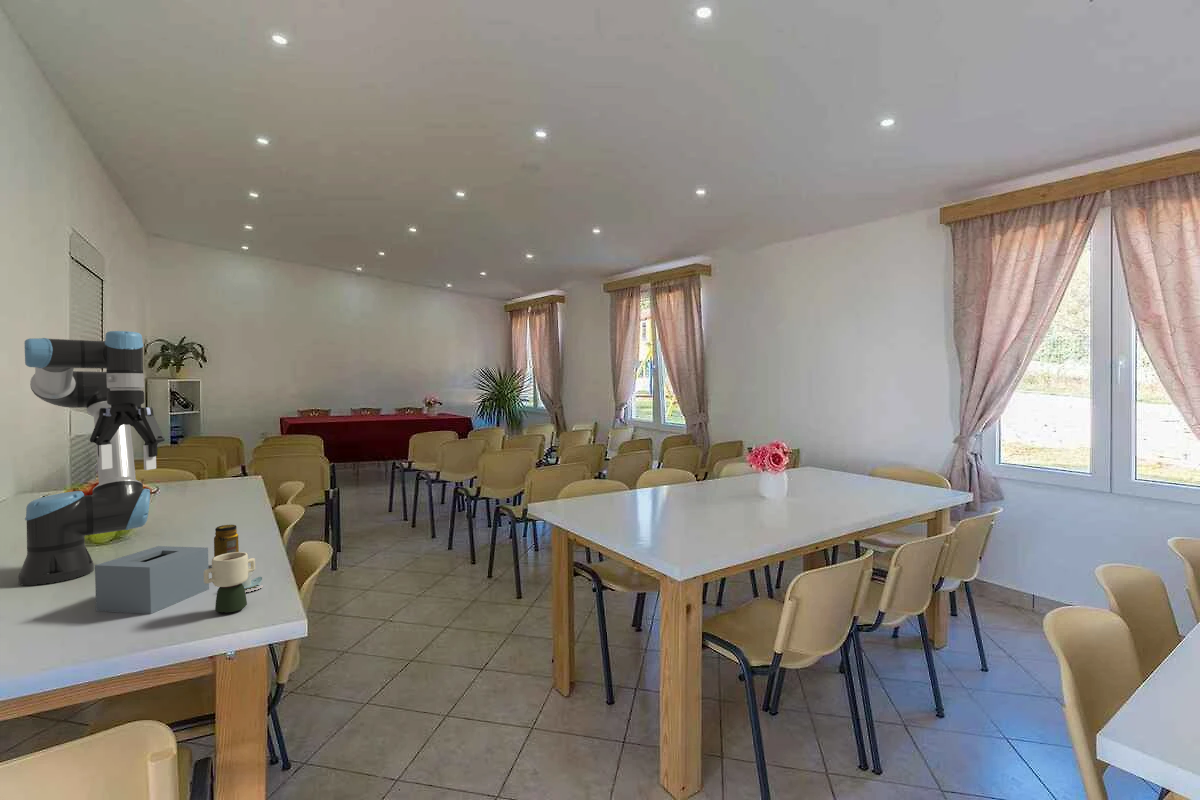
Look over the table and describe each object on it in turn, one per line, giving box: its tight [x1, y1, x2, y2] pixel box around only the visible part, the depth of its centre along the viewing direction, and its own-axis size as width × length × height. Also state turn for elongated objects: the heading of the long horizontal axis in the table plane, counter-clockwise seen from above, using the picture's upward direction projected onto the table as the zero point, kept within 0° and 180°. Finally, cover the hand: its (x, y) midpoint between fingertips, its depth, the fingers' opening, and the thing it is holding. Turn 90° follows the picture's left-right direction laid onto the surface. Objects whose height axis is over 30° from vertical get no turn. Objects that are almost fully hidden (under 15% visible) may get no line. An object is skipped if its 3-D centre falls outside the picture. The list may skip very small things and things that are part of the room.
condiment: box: [213, 524, 240, 558], centre depth 162 cm, size 7×8×12 cm
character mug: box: [204, 551, 256, 613], centre depth 129 cm, size 11×7×13 cm, turn 146°
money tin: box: [94, 545, 210, 615], centre depth 136 cm, size 15×16×11 cm
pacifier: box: [242, 565, 264, 594], centre depth 142 cm, size 7×6×6 cm
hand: (128, 469), depth 145 cm, fingers open, 13 cm apart
